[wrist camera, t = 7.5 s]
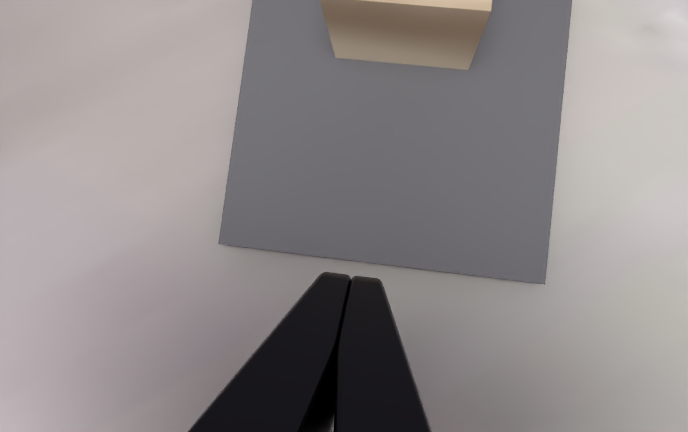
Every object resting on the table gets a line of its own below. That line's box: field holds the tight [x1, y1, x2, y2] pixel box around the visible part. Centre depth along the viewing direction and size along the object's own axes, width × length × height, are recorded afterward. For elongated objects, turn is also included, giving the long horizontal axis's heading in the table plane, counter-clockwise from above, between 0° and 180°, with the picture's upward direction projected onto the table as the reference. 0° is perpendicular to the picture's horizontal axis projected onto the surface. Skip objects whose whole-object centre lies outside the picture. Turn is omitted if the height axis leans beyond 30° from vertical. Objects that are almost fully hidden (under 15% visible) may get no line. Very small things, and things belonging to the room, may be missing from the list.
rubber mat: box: [219, 0, 572, 284], centre depth 22 cm, size 16×12×1 cm
